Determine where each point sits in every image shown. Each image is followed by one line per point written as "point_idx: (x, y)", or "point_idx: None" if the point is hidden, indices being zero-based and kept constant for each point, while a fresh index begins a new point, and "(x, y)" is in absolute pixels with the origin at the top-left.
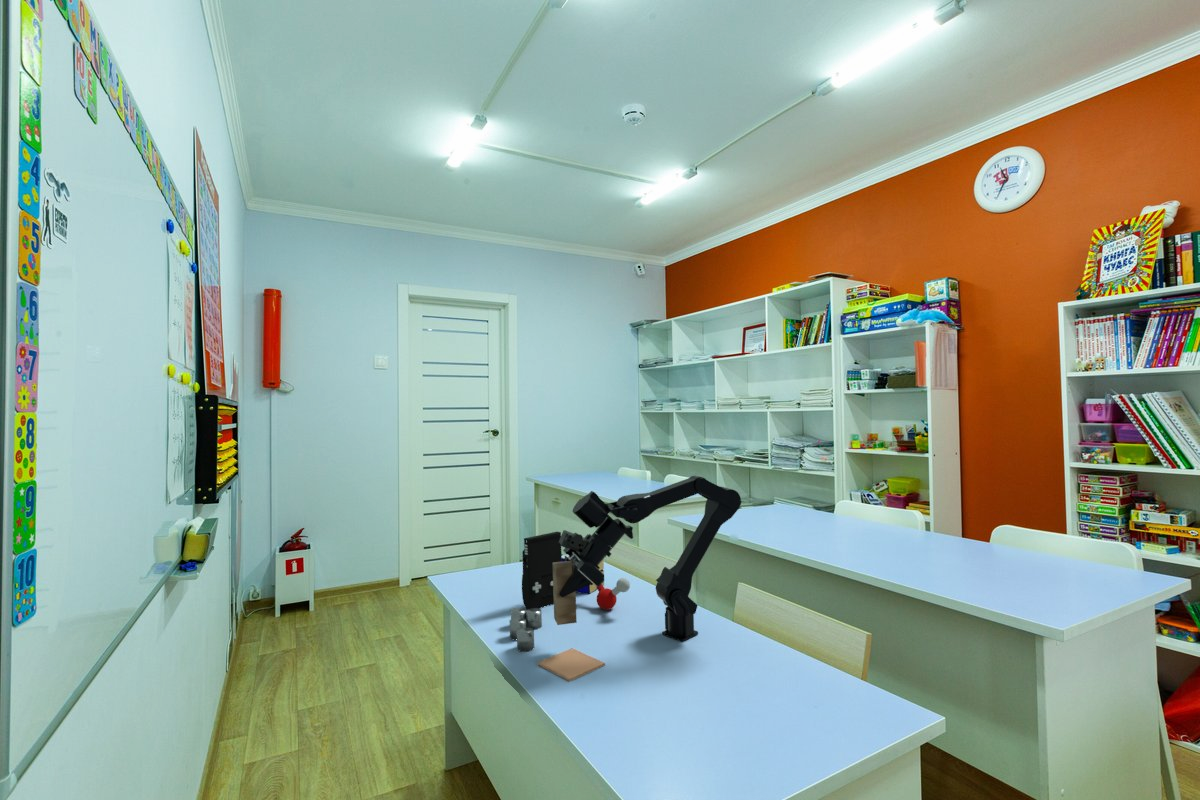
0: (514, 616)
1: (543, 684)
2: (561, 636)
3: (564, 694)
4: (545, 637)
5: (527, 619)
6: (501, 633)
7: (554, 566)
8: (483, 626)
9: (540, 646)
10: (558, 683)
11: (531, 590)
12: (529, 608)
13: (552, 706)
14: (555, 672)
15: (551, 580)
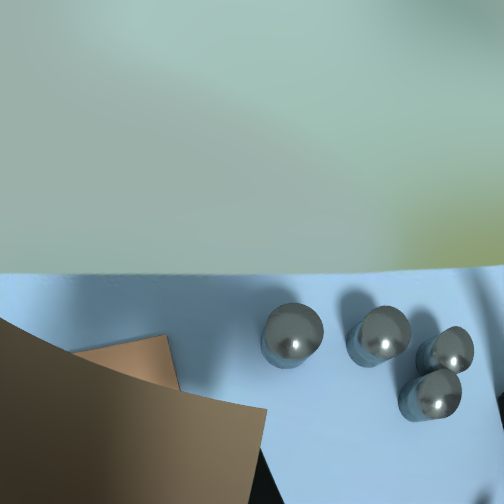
0: (438, 337)
1: (77, 306)
2: (316, 462)
3: (28, 321)
4: (332, 417)
5: (424, 375)
6: (402, 310)
7: (69, 352)
8: (447, 282)
9: (276, 385)
10: (62, 334)
11: None
12: (501, 396)
13: (17, 285)
14: (96, 349)
15: None
